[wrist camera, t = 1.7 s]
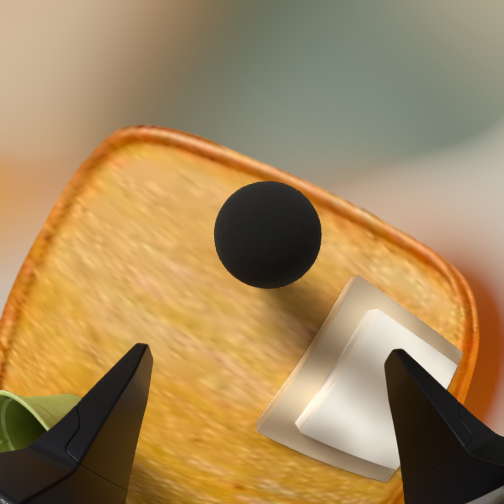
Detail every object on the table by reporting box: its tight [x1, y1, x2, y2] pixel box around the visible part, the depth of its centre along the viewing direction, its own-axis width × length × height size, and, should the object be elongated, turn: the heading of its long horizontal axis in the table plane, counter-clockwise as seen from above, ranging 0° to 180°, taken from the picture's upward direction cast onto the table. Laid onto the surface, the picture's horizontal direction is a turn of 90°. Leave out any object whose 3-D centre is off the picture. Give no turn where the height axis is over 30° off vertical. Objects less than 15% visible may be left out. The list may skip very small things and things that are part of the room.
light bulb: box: [214, 181, 322, 289], centre depth 17 cm, size 6×6×10 cm
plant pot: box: [0, 390, 82, 452], centre depth 13 cm, size 9×9×9 cm
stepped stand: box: [255, 275, 463, 482], centre depth 18 cm, size 14×14×4 cm
